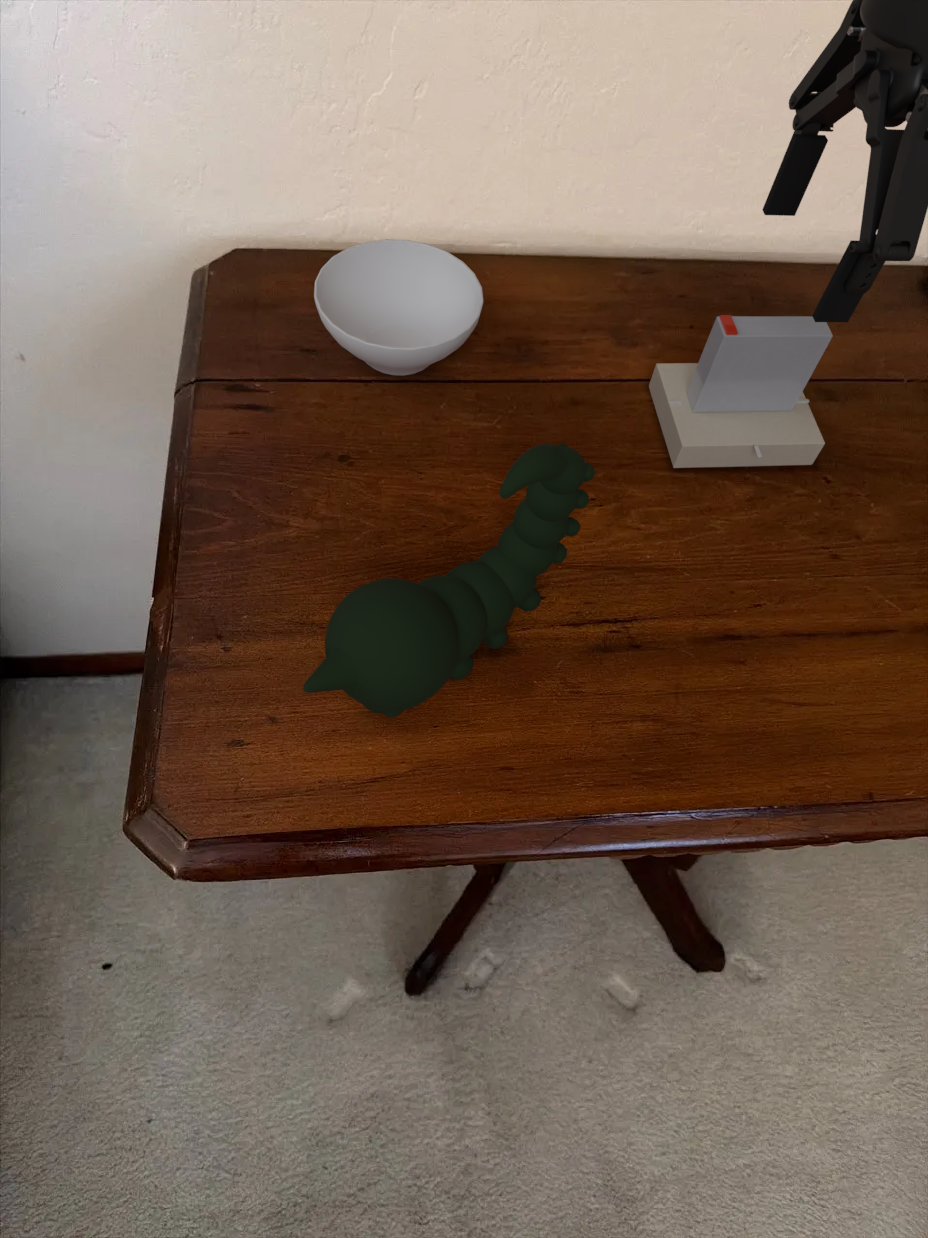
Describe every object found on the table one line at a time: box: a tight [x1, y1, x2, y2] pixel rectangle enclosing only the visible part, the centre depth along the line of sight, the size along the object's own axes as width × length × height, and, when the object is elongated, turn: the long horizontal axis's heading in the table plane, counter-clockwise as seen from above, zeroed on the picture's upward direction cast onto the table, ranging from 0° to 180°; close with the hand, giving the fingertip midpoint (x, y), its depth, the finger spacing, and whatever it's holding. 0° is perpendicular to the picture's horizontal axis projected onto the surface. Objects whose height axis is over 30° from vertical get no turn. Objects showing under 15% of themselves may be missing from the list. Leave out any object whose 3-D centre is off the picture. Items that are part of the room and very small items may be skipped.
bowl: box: [313, 238, 484, 376], centre depth 86 cm, size 16×16×7 cm
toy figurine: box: [302, 442, 596, 719], centre depth 63 cm, size 9×19×25 cm
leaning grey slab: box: [687, 314, 834, 412], centre depth 81 cm, size 10×3×9 cm, turn 96°
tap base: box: [648, 362, 826, 469], centre depth 86 cm, size 14×14×3 cm
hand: (802, 263), depth 72 cm, fingers open, 13 cm apart
